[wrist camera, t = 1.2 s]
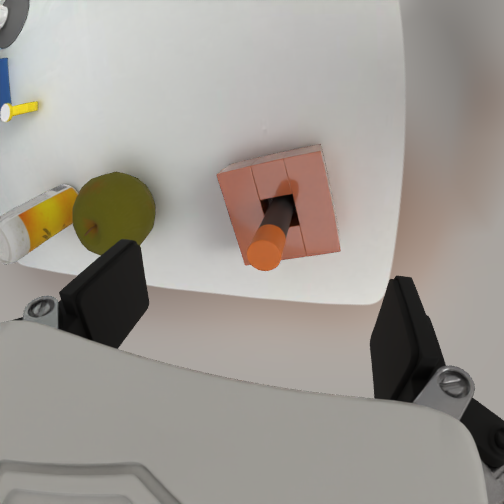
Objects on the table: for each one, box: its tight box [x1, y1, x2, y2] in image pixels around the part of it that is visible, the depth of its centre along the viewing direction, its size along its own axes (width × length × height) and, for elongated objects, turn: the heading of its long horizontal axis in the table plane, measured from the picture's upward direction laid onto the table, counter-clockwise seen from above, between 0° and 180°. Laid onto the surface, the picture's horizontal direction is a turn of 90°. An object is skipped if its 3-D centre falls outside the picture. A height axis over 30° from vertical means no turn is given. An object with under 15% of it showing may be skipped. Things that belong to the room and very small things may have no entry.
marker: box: [247, 194, 295, 271], centre depth 29 cm, size 2×2×14 cm
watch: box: [0, 101, 38, 122], centre depth 33 cm, size 6×3×6 cm, turn 87°
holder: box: [217, 144, 341, 265], centre depth 32 cm, size 10×10×5 cm
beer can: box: [0, 184, 79, 265], centre depth 35 cm, size 6×6×15 cm
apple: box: [72, 172, 155, 255], centre depth 34 cm, size 10×10×11 cm
